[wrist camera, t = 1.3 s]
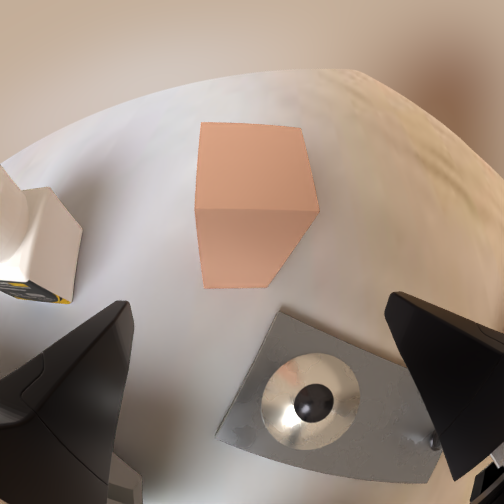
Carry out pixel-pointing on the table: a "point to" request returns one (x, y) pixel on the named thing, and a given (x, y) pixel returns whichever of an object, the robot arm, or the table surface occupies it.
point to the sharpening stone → (123, 483)
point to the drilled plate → (331, 409)
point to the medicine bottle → (36, 244)
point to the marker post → (250, 201)
